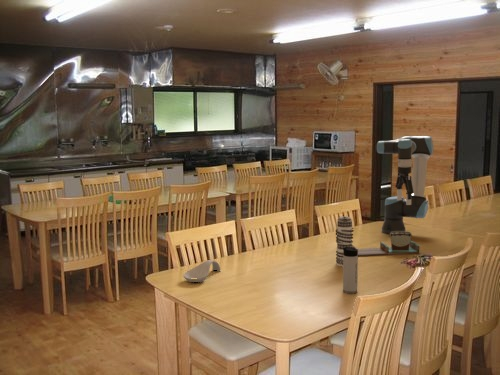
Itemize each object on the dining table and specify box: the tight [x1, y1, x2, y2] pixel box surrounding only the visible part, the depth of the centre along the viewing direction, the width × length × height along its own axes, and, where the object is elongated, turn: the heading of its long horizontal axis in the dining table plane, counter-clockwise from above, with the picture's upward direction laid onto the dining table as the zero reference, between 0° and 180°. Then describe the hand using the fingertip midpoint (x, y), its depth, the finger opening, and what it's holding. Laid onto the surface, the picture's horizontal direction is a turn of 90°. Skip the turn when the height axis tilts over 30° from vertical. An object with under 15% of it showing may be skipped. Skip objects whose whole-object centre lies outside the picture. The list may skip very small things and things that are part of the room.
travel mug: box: [342, 247, 359, 295], centre depth 221 cm, size 6×7×20 cm
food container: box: [389, 230, 413, 251], centre depth 284 cm, size 12×6×10 cm, turn 86°
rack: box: [352, 239, 421, 257], centre depth 283 cm, size 12×36×5 cm, turn 95°
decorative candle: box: [335, 215, 355, 268], centre depth 260 cm, size 9×9×25 cm
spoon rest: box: [183, 259, 221, 283], centre depth 245 cm, size 24×12×7 cm, turn 151°
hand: (403, 202), depth 293 cm, fingers open, 13 cm apart
